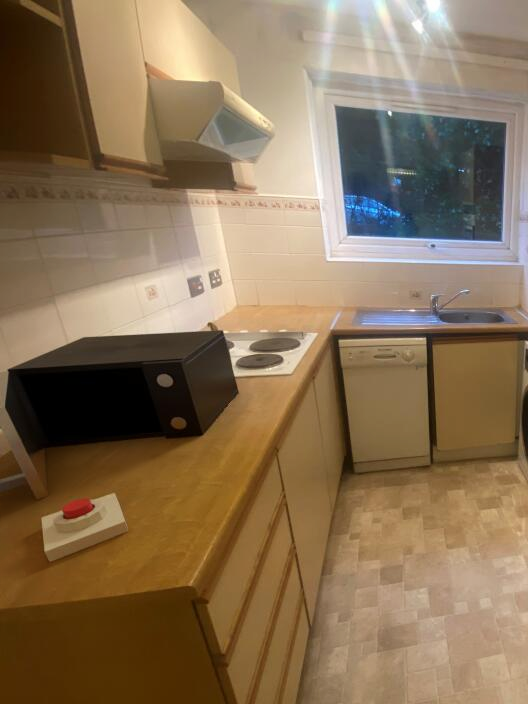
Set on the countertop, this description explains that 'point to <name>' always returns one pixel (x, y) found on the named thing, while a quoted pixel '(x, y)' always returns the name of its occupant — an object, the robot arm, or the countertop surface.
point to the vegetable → (214, 328)
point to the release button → (77, 508)
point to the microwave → (127, 387)
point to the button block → (82, 528)
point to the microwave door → (21, 440)
